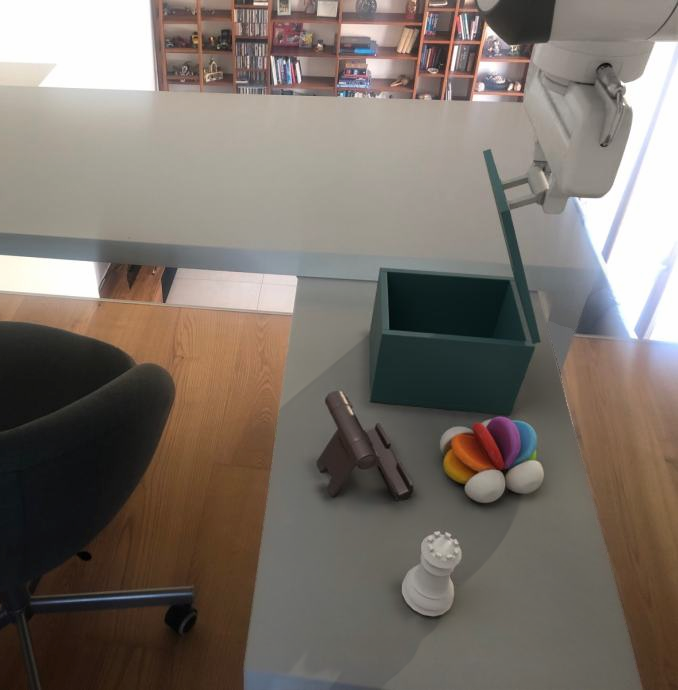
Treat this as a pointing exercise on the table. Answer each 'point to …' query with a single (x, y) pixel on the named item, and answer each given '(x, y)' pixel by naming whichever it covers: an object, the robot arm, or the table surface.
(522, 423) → the multicoloured rounded lobed piece
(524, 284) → the lid
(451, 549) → the rook chess piece
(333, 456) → the tablet stand
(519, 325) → the teal hinged box
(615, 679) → the table surface
